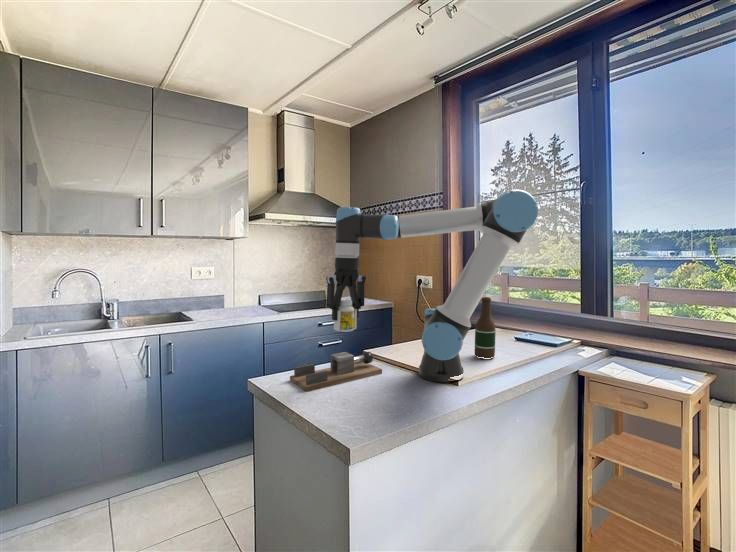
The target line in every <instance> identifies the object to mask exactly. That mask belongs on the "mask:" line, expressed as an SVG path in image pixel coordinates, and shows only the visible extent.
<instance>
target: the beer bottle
mask: <svg viewBox="0 0 736 552" xmlns="http://www.w3.org/2000/svg"><path fill="white" fill-rule="evenodd" d="M480 301H481V308H480V315H479V318H478V320H477V321H476V324H475V326H474V327H475V328H474V356H475V355H476V356H478V357H484V358H491V357H494V356H495V355H496V333H497V332H496V329H497V328H496V324H495V321H494V319H493V318H492V314H491V313H492V311H491V310H492V309H491V301H492V298H491V297H489V296H482V298H481V299H480ZM494 358H495V357H494Z"/></svg>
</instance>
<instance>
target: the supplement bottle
mask: <svg viewBox="0 0 736 552" xmlns="http://www.w3.org/2000/svg"><path fill="white" fill-rule="evenodd" d="M338 310H340V311H341V316H340V331H339V332H342V333H343V332H344V333H347V332H349V333H350V332H352V331H354V330H355V329H354V308H353V306H352V300H351V299H341V301H340V305H339V309H338Z"/></svg>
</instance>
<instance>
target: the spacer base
mask: <svg viewBox="0 0 736 552" xmlns="http://www.w3.org/2000/svg"><path fill="white" fill-rule="evenodd" d="M354 357H355V355H353V354H352V353H349V352H347V351H344V352H343V351H341V352H338V353H333V354H332V353H331V354H330V367H327V368H321V369H317V370H316V369H315V368H316V367H315V366H316V365H315V363H311V364H305V365H300V366H296V367H293V370H294V371H293V372H294V374H293V375H289V381H290V382H292V383H293V384H294V385H296V386H297V387H299V388H301V390H303V391H305V392H307V393H308V392H312V391H315V390H319V389H324V388H328V387H332V386H336V385H341V384H346V383H348V382H352V381H353V382H354V381H356V380H361V379H364V378H369V377H373V376H377V375H382V374H383V369H382V368H379V366H378V367H377V366H376V365H373V364H371V363H367V364H365V363H364V362H361V363H356V364H354ZM336 361H337V366H336Z"/></svg>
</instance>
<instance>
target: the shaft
mask: <svg viewBox="0 0 736 552" xmlns="http://www.w3.org/2000/svg"><path fill="white" fill-rule="evenodd" d="M373 360H374V355H373V354H372V352H371V351H364V352H363V353H362V354H361V355H357V356H354V364H356V363H361V362H364V363H365V364H367V363H369V364H371V363H372V362H373ZM336 366H337V361H336Z"/></svg>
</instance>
